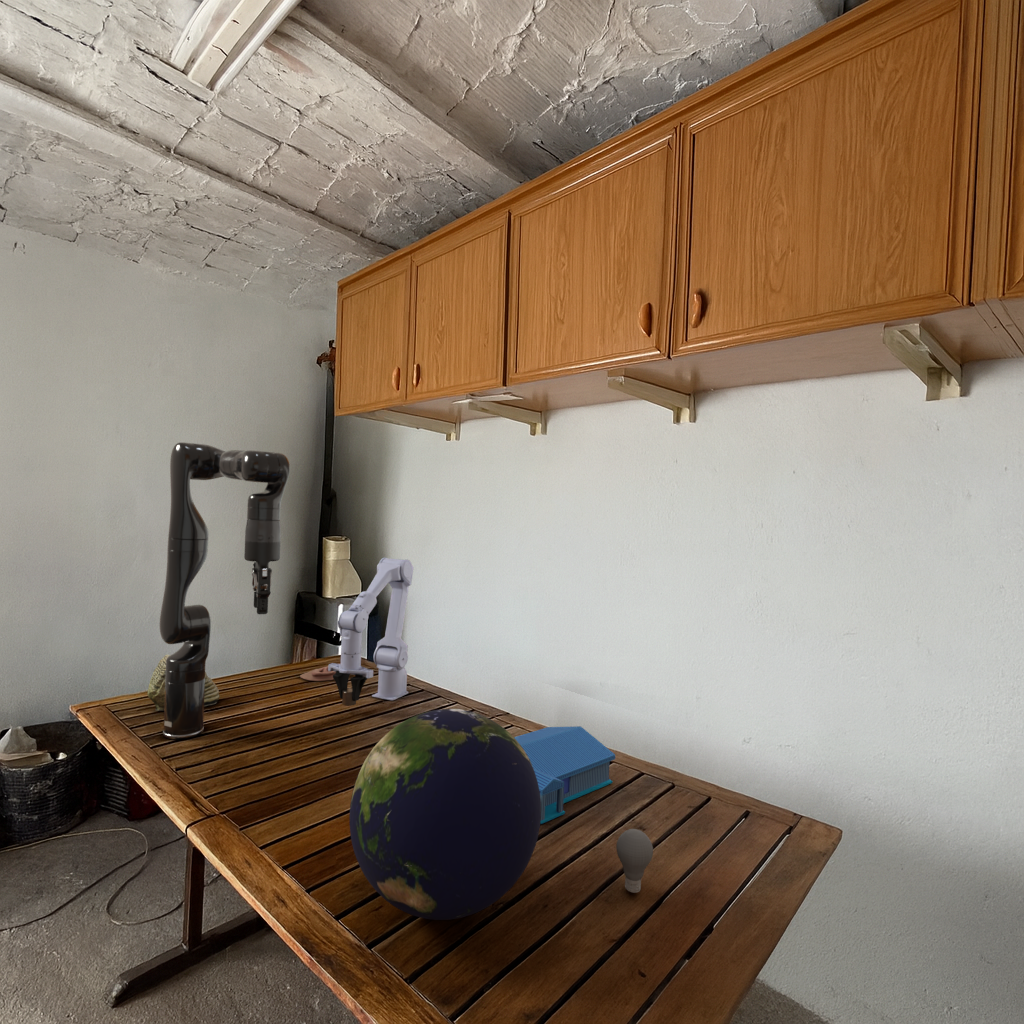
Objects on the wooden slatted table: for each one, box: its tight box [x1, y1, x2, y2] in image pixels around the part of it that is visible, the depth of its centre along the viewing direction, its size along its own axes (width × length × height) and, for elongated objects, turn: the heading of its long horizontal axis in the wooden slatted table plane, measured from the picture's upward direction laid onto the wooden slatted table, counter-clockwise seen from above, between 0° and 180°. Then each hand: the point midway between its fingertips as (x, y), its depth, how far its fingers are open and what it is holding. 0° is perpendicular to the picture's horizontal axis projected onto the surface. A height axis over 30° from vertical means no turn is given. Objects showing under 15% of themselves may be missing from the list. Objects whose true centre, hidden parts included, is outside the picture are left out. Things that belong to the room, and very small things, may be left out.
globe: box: [349, 708, 541, 921], centre depth 100 cm, size 30×30×30 cm
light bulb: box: [615, 828, 654, 894], centre depth 106 cm, size 6×6×10 cm
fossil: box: [147, 654, 221, 712], centre depth 185 cm, size 9×18×15 cm, turn 132°
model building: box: [513, 725, 616, 825], centre depth 140 cm, size 39×24×10 cm, turn 132°
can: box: [341, 687, 357, 707], centre depth 184 cm, size 4×4×4 cm
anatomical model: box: [299, 662, 341, 682], centre depth 220 cm, size 13×4×12 cm
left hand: (260, 610), depth 144 cm, fingers open, 8 cm apart
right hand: (349, 698), depth 184 cm, fingers closed on can, 4 cm apart
